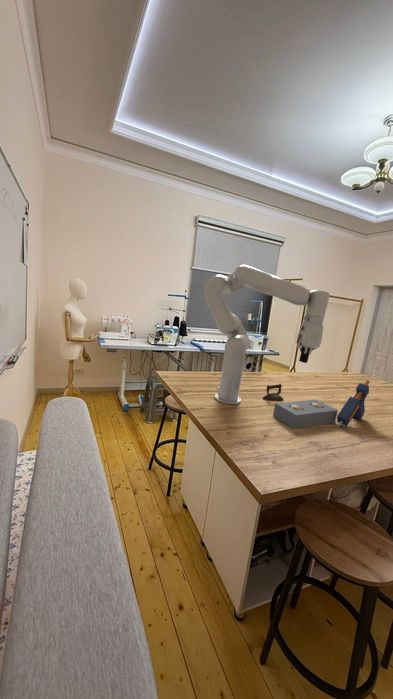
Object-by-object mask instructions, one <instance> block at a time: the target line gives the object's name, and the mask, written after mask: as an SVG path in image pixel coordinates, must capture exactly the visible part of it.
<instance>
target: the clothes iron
mask: <svg viewBox="0 0 393 699" xmlns="http://www.w3.org/2000/svg"><path fill="white" fill-rule="evenodd" d="M282 387H283V386H282V384H281V383H279V384H272V385H266V395H264V396H263V397H262V400H264V401H270V402H271V401H275V402H277V401H278V402H279V401H281V402H282V401H284V398H283V397H282V396H281V395H280V394H281V392H282ZM271 389H272V390H274V389H278V391H277V392H271V393H270V390H271Z"/></svg>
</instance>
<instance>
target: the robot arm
mask: <svg viewBox="0 0 393 699" xmlns="http://www.w3.org/2000/svg"><path fill="white" fill-rule="evenodd" d="M245 287H247V288H250V289H252V290H253V291H257V292H258V293H259V292H260V293H263V294H265V295H267V296H272V297H275V298H278V299H280V300H283V301H285V302H287V303H291V304H293V305H295V306H304V307H305V306H306V309H305V314H304V316H303V321H302V323H301V325H300V328H299V330H298V333H297V337H296V348H297V349H299V353H300V355H299V359H298V361H299V362H301V363H305V364H307V363H308V362H309V357H310V355H311V354H312V352H313V351H315V350H317V349H318V348H320V347H321V343H322V340H323V332H324V325H323V323H324V318H325V315H326V311H327V308H328V304H329V299H330V293H329V292H328V291H326V290H320V289H318V290H317V289H313V290H312V289H307V288H306V287H304V286H303V285H299V284H297V283H294V282H291V281H289V280H285V279H283V278H282V277H281V278H280V277H278V276H276V275H273V274H271V273H268V272H266V271H263V270H260V269H257V268H255V267H253V266H249V265H248V264H247V265H246V264H241V265H239V266H237V267H236V268H235V270H234V272H232V273H229V274H227V275H222V274H216V275H213V276H212V277H210V278H209V279H208V280H207V282H206V284H205V286H204V294H203V295H204V299H205V302H206V305H207V308H208V309H209V312H210V314H211V316H212V318H213V320H214V322H215V324H216V327H217V330H218V331H219V332H220V333H221V334H223V335H226V337H227V339H226V342H225V345H224V350H223V351H224V353H223V354H224V355H223V363H222V369H221V376H220V382H219V386H216V389H215V390H217V392H216V393H214V398H215V400H216V401H218V402H220V403H222V404H226V405H238V404H240V403H241V402H242V399H241V397H240V396H239V394H240V390H241V389H240V388H241V384H242V382H241V381H242V376H243V371H244V366H245V365H244V364H245V357H246V352H247V351H248V349H249V348H250V345H251V341H250V337H249V335H248V333H247V332H246V329H245V327H244V325H243V323H242V321H241V319H240V317H239V316H238V315H236V314H234V313H232V312H231V310H230V307H229V305H228V303H227V301H226V300H225V298H224V295H229V294H232V293H234V292H236V291H239V290H242V289H244V288H245Z"/></svg>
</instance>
